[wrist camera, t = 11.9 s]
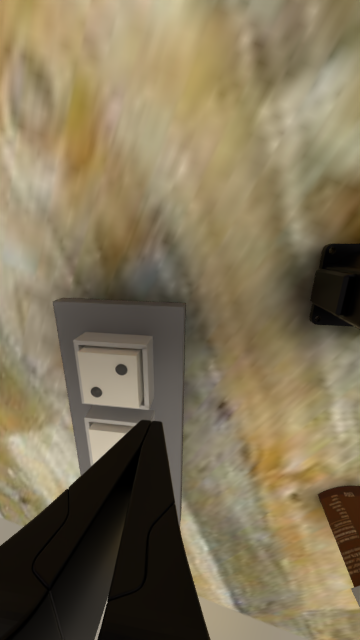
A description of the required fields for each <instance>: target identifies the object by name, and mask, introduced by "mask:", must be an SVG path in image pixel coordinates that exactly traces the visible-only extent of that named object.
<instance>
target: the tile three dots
mask: <svg viewBox="0 0 360 640" xmlns="http://www.w3.org/2000/svg"><path fill="white" fill-rule="evenodd" d="M133 427H134V426H127V425H117V424H108V423H98V422H93V423H92V425H91V426H90V428H89V436H90V444H91V451H92V459H93V464H94V463H95V462H96V461H97V460H99V459H100V458H101V457H102V456H103V455H104V454H105V453H106V452H107V451H108V450H109V449H110V448H111V447H112V446H114V445H115V444H116V443H117V442H118V441H119V440H120V439H121V438H122V437H123V436H124V435H125V434H126V433H127V432H129V431H130V430H131V429H132V428H133Z"/></svg>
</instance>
